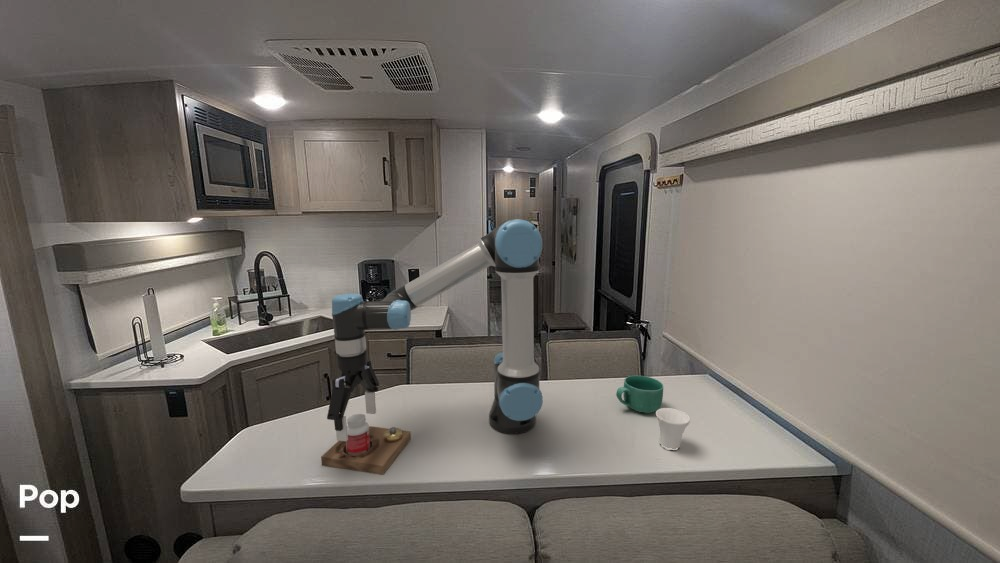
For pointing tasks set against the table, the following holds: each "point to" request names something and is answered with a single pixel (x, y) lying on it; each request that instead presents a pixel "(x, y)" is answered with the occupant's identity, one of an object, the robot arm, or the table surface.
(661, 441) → the cup
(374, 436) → the carrier plate
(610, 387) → the table surface
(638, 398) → the mug
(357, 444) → the pill bottle
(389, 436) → the disc
